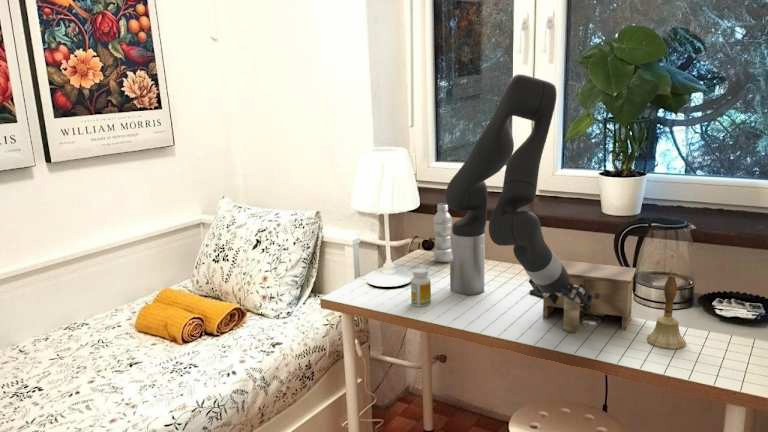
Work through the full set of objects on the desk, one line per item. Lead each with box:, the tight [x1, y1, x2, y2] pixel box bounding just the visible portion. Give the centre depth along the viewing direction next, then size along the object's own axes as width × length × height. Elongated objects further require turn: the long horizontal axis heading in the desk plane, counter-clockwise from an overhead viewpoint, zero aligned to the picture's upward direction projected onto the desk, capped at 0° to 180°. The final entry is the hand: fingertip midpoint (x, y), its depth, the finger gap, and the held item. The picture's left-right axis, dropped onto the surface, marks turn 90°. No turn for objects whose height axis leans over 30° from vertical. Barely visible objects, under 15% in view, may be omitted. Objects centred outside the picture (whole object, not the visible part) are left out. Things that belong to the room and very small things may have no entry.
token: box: [581, 315, 601, 327], centre depth 152 cm, size 4×4×1 cm
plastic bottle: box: [433, 202, 453, 263], centre depth 205 cm, size 6×7×20 cm
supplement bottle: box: [410, 268, 432, 308], centre depth 168 cm, size 5×5×10 cm
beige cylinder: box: [562, 285, 606, 334], centre depth 151 cm, size 10×15×11 cm, turn 152°
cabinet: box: [542, 259, 637, 331], centre depth 154 cm, size 21×12×13 cm, turn 62°
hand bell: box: [646, 274, 687, 350], centre depth 138 cm, size 8×8×16 cm
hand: (571, 304), depth 146 cm, fingers open, 8 cm apart
